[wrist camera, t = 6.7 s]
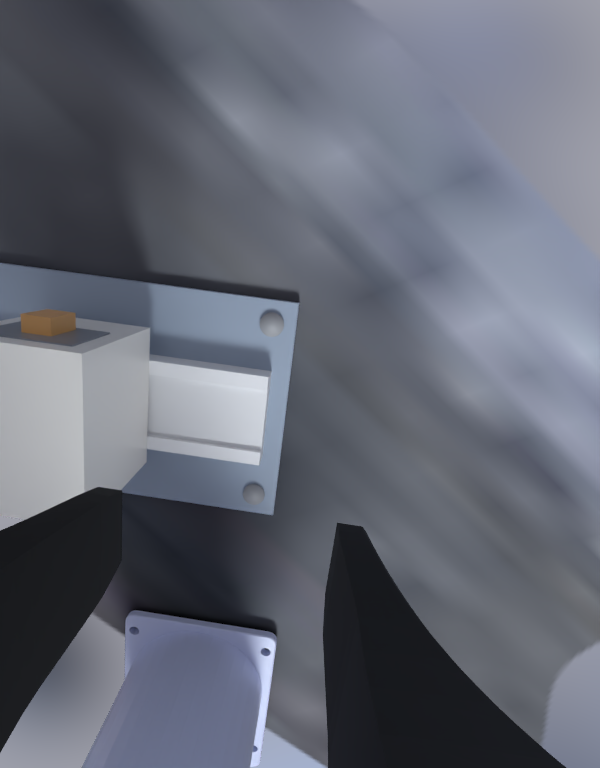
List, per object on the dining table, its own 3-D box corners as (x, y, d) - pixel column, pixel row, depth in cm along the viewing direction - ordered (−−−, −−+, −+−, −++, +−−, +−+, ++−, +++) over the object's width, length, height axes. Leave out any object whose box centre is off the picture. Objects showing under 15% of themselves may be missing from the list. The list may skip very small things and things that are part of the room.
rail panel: (274, 510, 21) (264, 550, 18) (-180, 442, 22) (-257, 469, 19) (299, 302, 18) (293, 310, 15) (-222, 232, 19) (-321, 228, 16)
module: (146, 461, 19) (85, 529, 15) (47, 447, 20) (-46, 509, 15) (150, 311, 17) (81, 331, 13) (41, 296, 18) (-68, 311, 13)
